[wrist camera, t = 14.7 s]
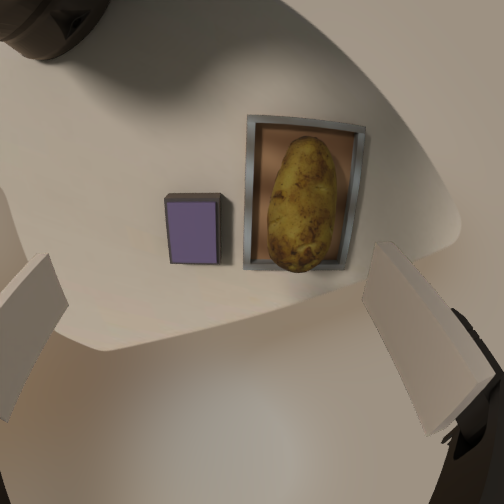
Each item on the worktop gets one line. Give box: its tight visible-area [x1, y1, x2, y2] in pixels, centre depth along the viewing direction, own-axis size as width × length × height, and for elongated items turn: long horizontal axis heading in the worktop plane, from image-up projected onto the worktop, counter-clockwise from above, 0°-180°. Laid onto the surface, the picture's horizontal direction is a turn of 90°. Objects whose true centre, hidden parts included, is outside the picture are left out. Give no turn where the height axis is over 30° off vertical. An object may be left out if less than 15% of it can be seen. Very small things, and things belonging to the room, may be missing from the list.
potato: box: [267, 136, 337, 273], centre depth 27 cm, size 8×13×8 cm, turn 153°
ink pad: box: [164, 193, 221, 265], centre depth 31 cm, size 8×6×2 cm
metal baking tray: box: [243, 115, 366, 270], centre depth 30 cm, size 18×13×2 cm
